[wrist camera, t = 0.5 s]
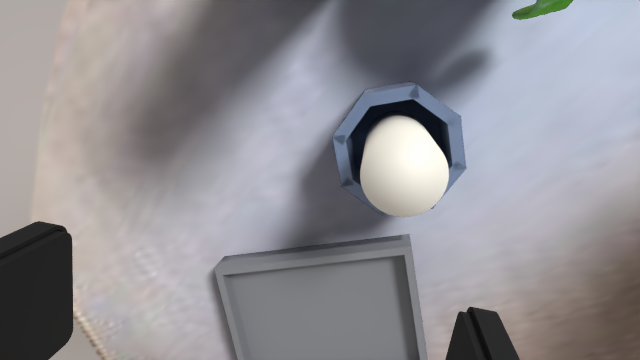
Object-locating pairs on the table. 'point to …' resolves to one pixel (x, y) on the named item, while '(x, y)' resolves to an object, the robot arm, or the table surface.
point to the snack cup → (541, 8)
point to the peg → (402, 166)
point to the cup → (404, 98)
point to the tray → (325, 302)
